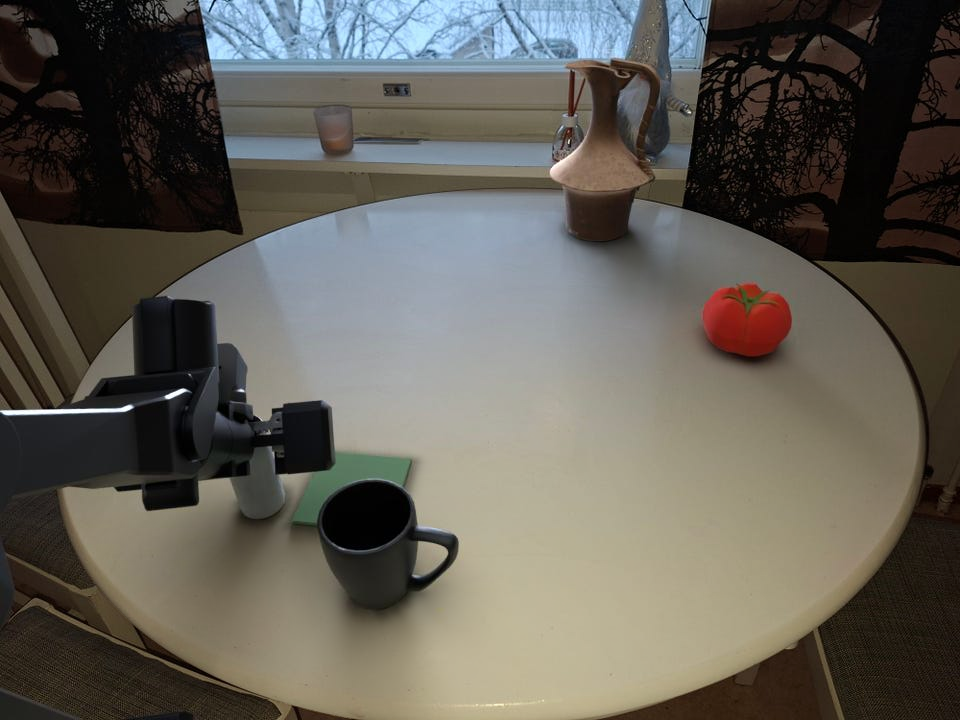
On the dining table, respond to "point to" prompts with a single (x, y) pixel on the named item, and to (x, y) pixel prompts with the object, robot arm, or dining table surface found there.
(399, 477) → the green mat
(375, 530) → the mug
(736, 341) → the tomato
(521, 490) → the dining table surface
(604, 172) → the pitcher
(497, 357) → the dining table surface
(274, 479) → the grey tumbler
